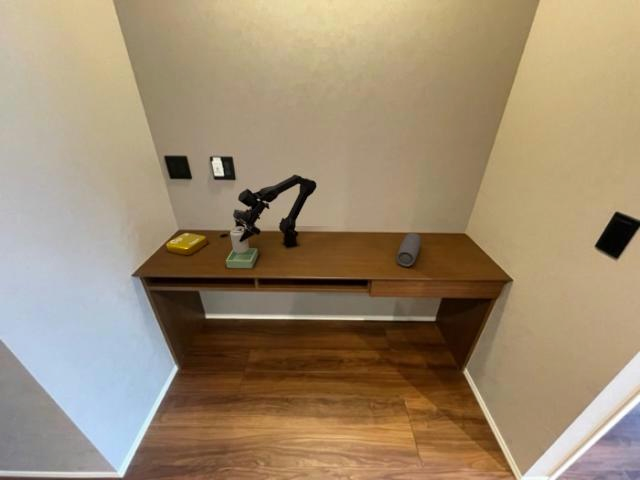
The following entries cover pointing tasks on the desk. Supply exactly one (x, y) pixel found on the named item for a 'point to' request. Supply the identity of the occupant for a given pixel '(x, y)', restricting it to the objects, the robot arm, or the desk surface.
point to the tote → (242, 259)
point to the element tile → (186, 244)
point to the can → (235, 237)
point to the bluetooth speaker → (409, 249)
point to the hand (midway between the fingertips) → (236, 238)
